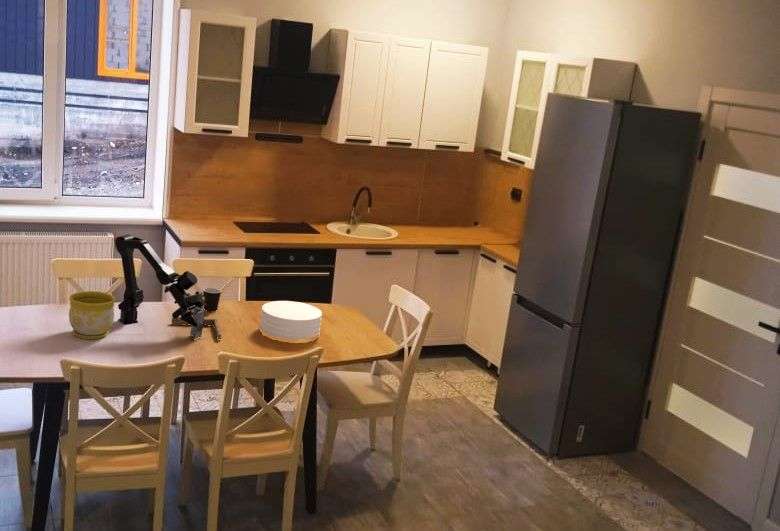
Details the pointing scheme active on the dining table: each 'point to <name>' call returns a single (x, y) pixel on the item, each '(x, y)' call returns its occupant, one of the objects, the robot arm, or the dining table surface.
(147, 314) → the dining table surface
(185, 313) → the robot arm
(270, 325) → the plate stack
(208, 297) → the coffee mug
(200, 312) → the bracket
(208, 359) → the dining table surface
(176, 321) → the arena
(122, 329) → the dining table surface
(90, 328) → the flowerpot
